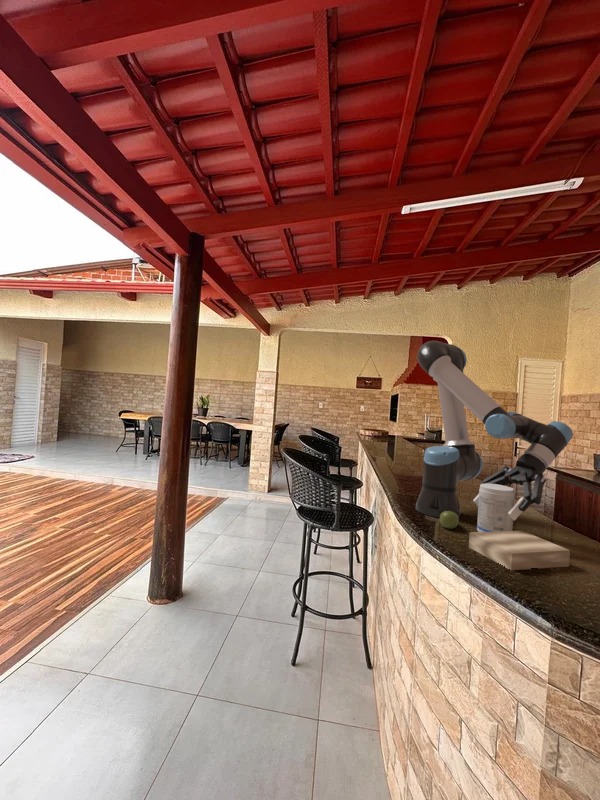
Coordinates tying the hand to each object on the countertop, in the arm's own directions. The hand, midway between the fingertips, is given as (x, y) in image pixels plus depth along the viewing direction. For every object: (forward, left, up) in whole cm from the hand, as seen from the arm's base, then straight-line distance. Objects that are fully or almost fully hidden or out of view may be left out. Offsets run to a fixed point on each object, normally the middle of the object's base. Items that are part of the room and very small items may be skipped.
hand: (492, 510), depth 113 cm
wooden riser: (+15, -6, -8) cm, 17 cm away
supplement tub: (0, +1, -8) cm, 8 cm away
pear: (-9, -8, -8) cm, 14 cm away
